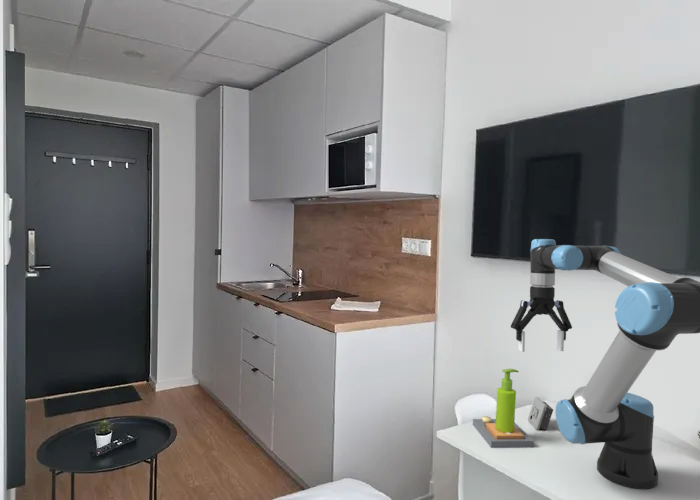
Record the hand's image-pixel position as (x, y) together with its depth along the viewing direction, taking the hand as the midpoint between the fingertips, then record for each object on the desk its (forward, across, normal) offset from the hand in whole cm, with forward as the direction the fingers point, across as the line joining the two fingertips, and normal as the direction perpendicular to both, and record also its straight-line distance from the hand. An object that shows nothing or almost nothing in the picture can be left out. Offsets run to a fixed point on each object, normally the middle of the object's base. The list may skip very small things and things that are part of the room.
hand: (540, 350), depth 156 cm
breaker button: (+30, +10, -4) cm, 32 cm away
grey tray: (+30, +10, -6) cm, 32 cm away
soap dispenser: (+27, +10, -4) cm, 29 cm away
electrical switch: (+30, -7, -13) cm, 34 cm away
